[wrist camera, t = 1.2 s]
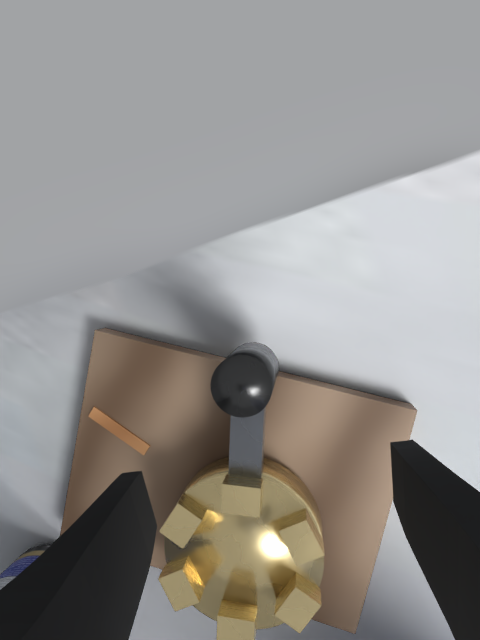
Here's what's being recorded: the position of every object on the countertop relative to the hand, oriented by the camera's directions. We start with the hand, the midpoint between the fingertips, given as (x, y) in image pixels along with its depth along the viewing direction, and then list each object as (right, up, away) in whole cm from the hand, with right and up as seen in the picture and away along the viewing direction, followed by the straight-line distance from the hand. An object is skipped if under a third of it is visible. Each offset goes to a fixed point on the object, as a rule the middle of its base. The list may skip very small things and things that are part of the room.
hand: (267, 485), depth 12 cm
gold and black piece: (0, -3, +10) cm, 11 cm away
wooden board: (-2, -4, +12) cm, 13 cm away
